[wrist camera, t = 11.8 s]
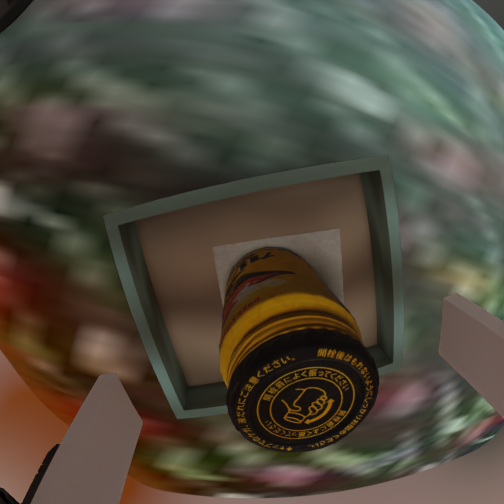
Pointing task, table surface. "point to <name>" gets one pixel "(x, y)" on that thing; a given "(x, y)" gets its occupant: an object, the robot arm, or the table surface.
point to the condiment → (291, 343)
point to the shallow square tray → (249, 229)
